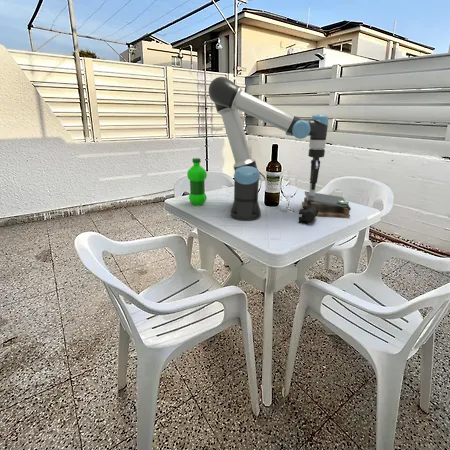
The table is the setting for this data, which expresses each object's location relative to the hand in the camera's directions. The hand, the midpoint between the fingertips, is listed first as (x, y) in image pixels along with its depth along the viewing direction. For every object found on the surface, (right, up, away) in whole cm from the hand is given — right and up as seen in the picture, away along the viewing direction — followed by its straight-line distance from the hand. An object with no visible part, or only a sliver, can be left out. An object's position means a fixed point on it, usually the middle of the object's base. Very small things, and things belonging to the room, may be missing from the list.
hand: (311, 195), depth 152 cm
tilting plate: (+7, -3, 0) cm, 7 cm away
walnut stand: (+7, -8, +2) cm, 11 cm away
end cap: (-6, -14, -12) cm, 19 cm away
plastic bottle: (-60, -4, +12) cm, 62 cm away
